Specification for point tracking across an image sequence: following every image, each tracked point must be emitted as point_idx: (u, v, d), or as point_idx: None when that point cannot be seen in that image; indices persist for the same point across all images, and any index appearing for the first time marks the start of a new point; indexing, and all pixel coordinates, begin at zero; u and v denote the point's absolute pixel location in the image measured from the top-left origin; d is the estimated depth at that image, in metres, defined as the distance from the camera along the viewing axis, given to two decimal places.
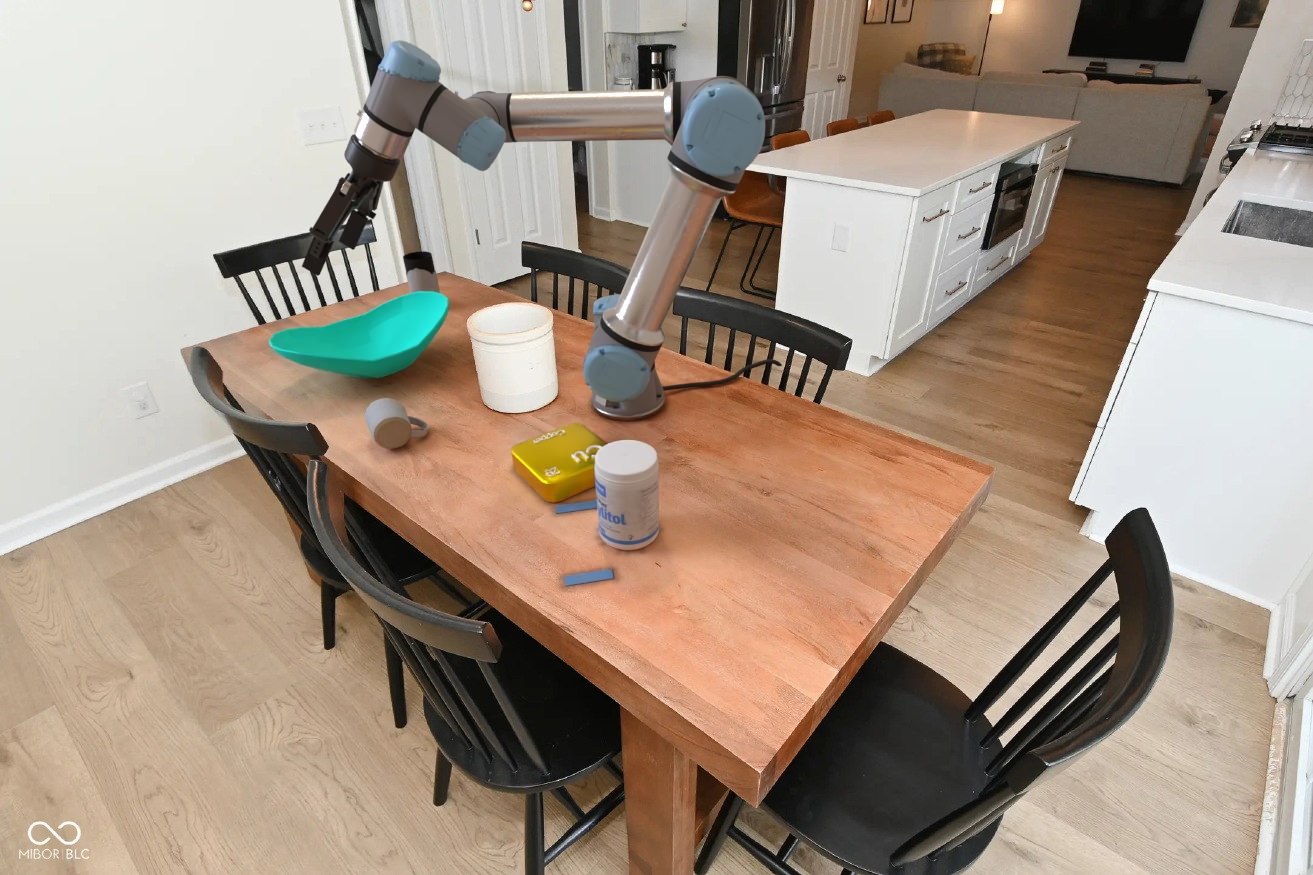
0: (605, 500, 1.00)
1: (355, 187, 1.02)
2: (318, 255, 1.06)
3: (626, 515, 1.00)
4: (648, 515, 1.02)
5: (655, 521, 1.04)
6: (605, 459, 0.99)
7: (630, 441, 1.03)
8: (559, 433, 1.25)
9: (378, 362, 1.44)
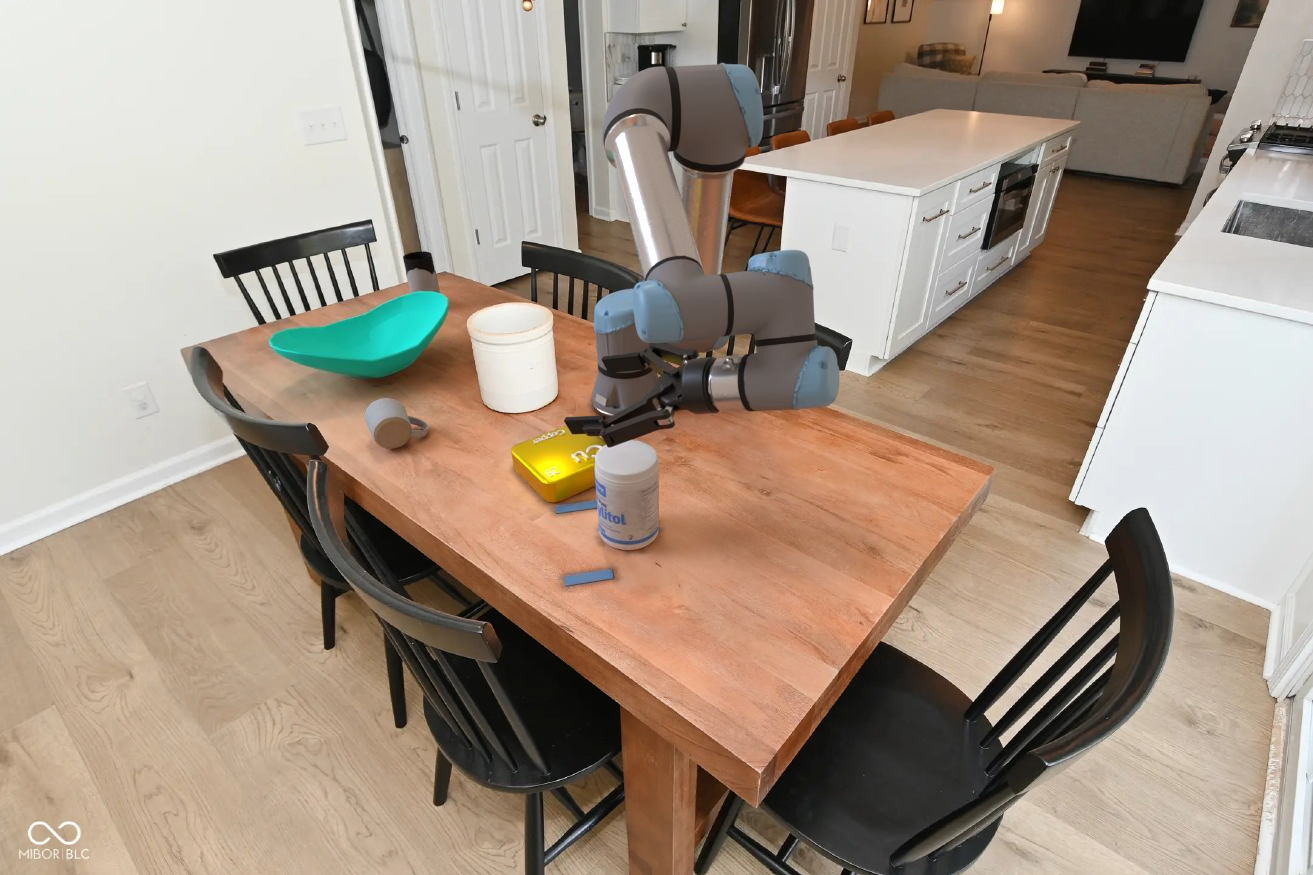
0: (606, 500, 1.00)
1: (673, 425, 0.90)
2: (589, 435, 0.94)
3: (626, 515, 1.00)
4: (648, 515, 1.02)
5: (655, 521, 1.04)
6: (605, 459, 0.99)
7: (630, 441, 1.03)
8: (559, 433, 1.25)
9: (378, 362, 1.44)
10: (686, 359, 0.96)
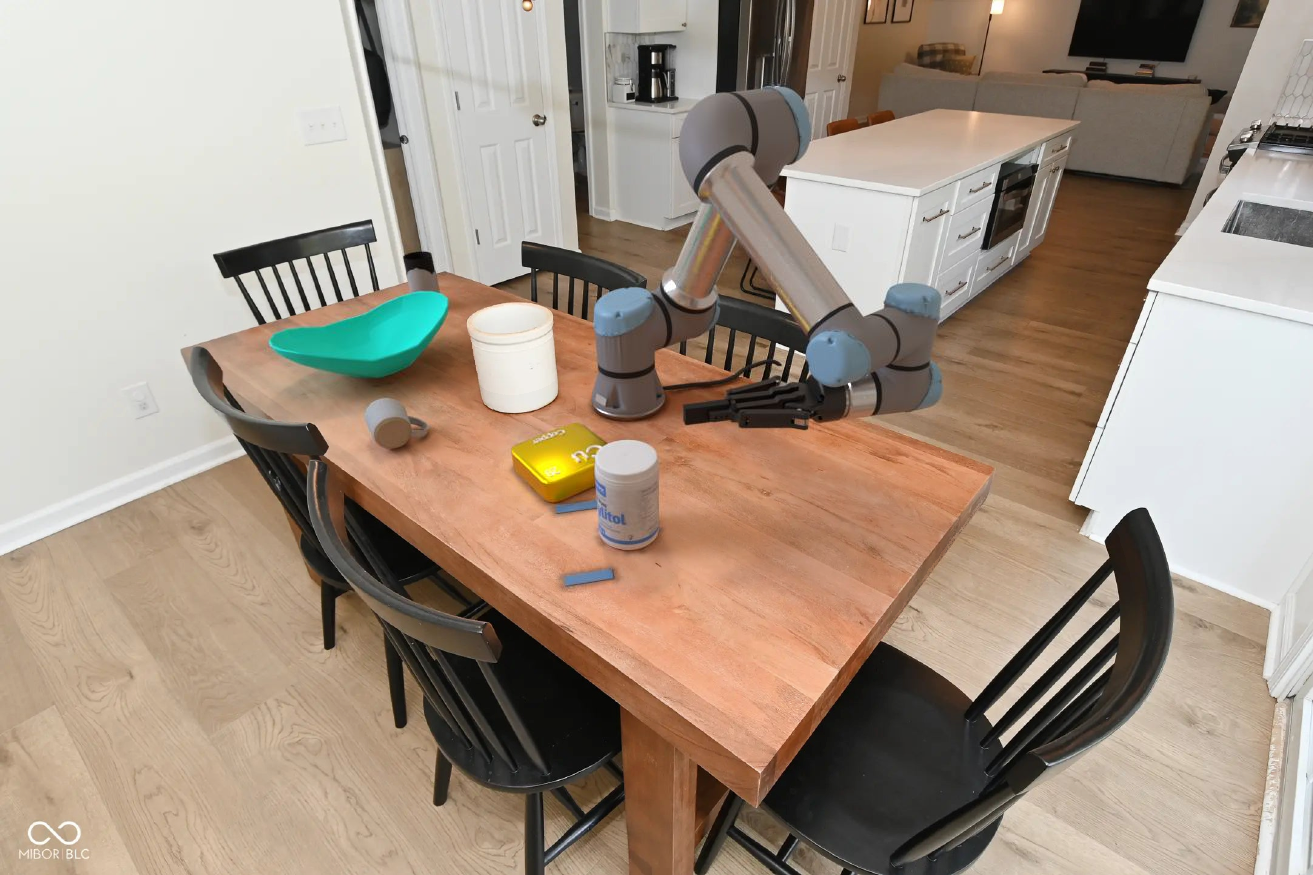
0: (606, 500, 1.00)
1: (806, 428, 0.96)
2: (714, 421, 0.98)
3: (626, 515, 1.00)
4: (648, 515, 1.02)
5: (655, 521, 1.04)
6: (605, 459, 0.99)
7: (630, 441, 1.03)
8: (559, 433, 1.25)
9: (378, 362, 1.44)
10: (779, 383, 1.04)
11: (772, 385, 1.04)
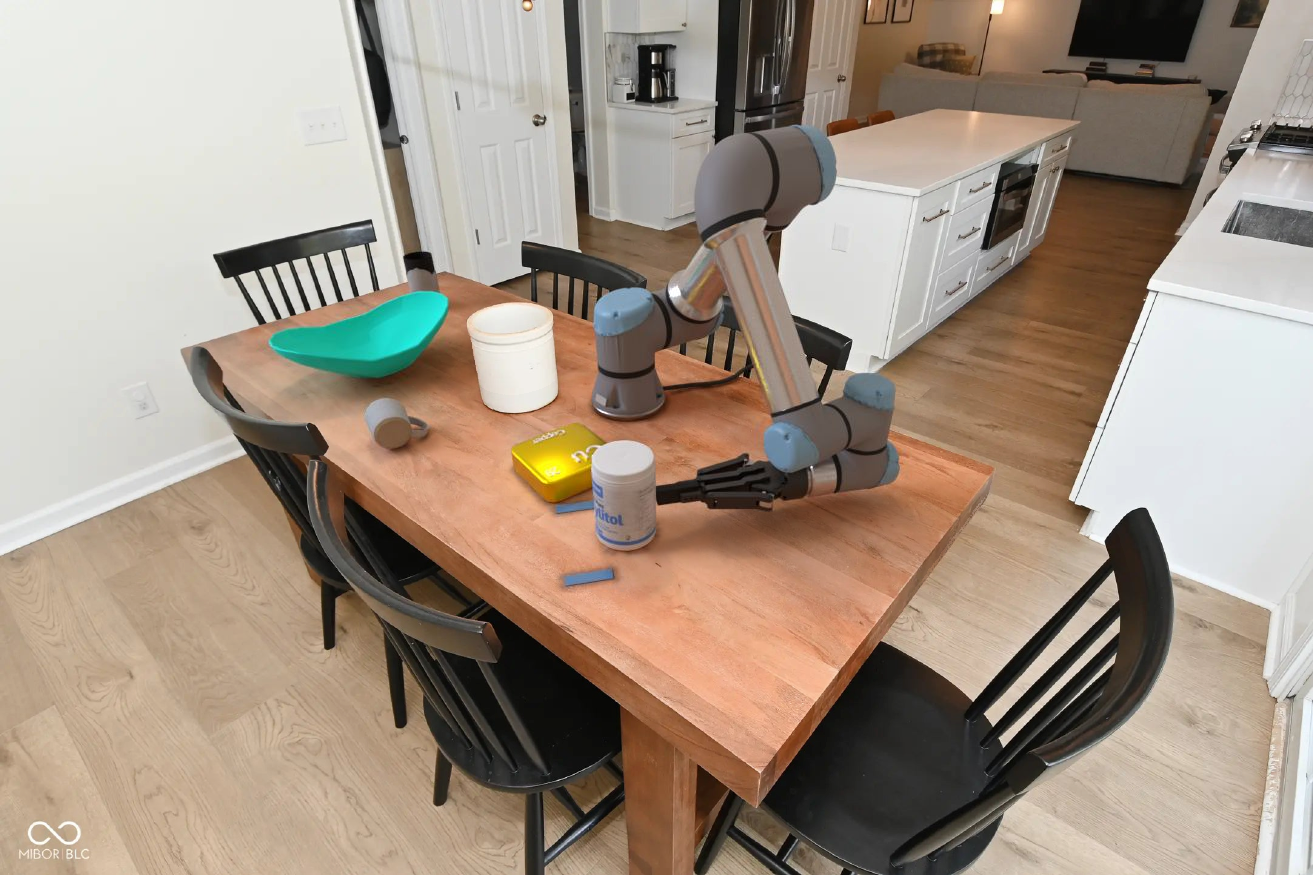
0: (603, 501, 1.00)
1: (770, 510, 1.03)
2: (684, 502, 1.04)
3: (623, 516, 1.00)
4: (646, 516, 1.01)
5: (652, 521, 1.04)
6: (602, 460, 0.99)
7: (627, 441, 1.03)
8: (559, 433, 1.25)
9: (378, 362, 1.44)
10: (747, 462, 1.11)
11: (740, 463, 1.10)
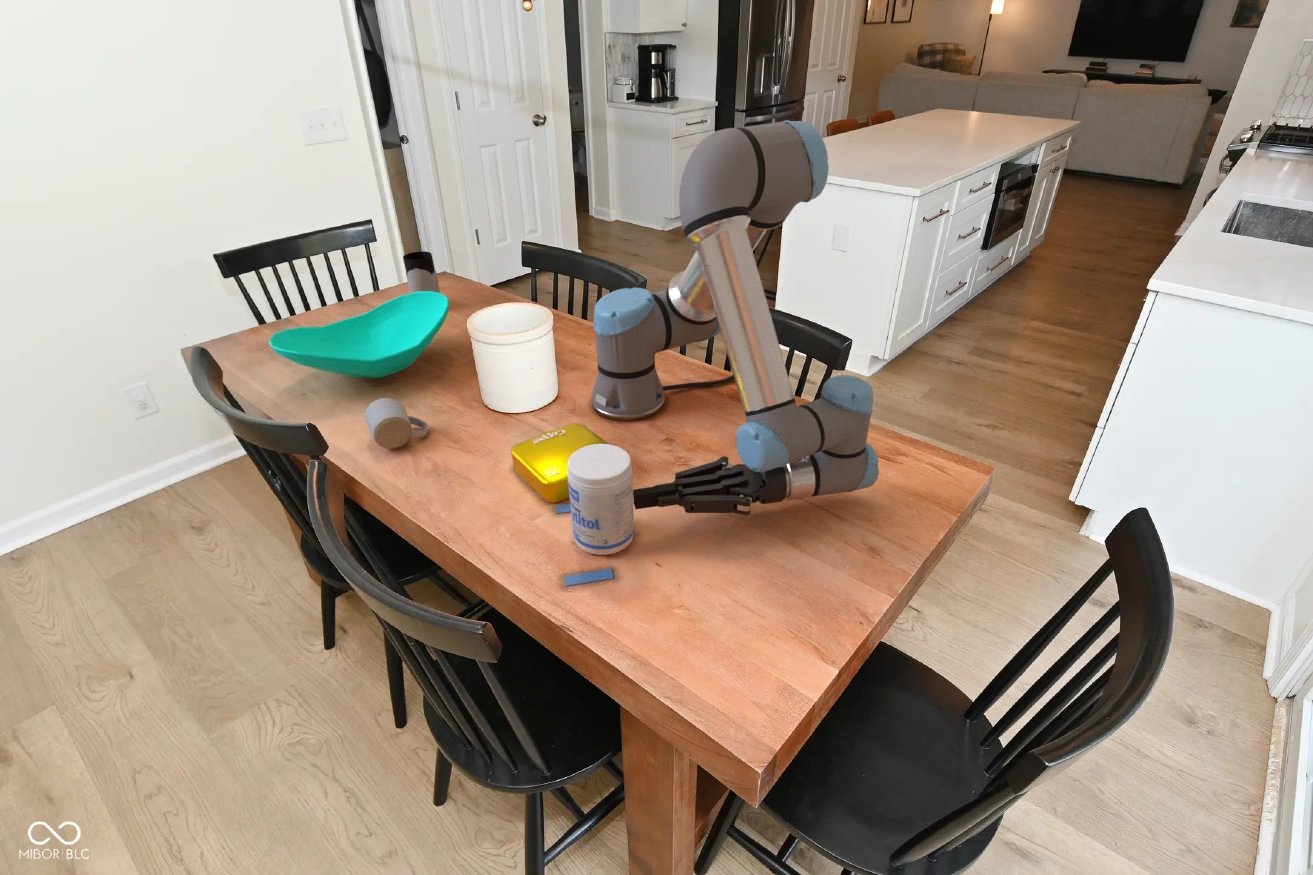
0: (579, 505, 0.99)
1: (748, 514, 1.02)
2: (662, 506, 1.04)
3: (600, 520, 0.99)
4: (623, 519, 1.01)
5: (630, 524, 1.03)
6: (578, 464, 0.98)
7: (603, 445, 1.02)
8: (559, 433, 1.25)
9: (378, 362, 1.44)
10: (726, 465, 1.10)
11: (719, 467, 1.10)
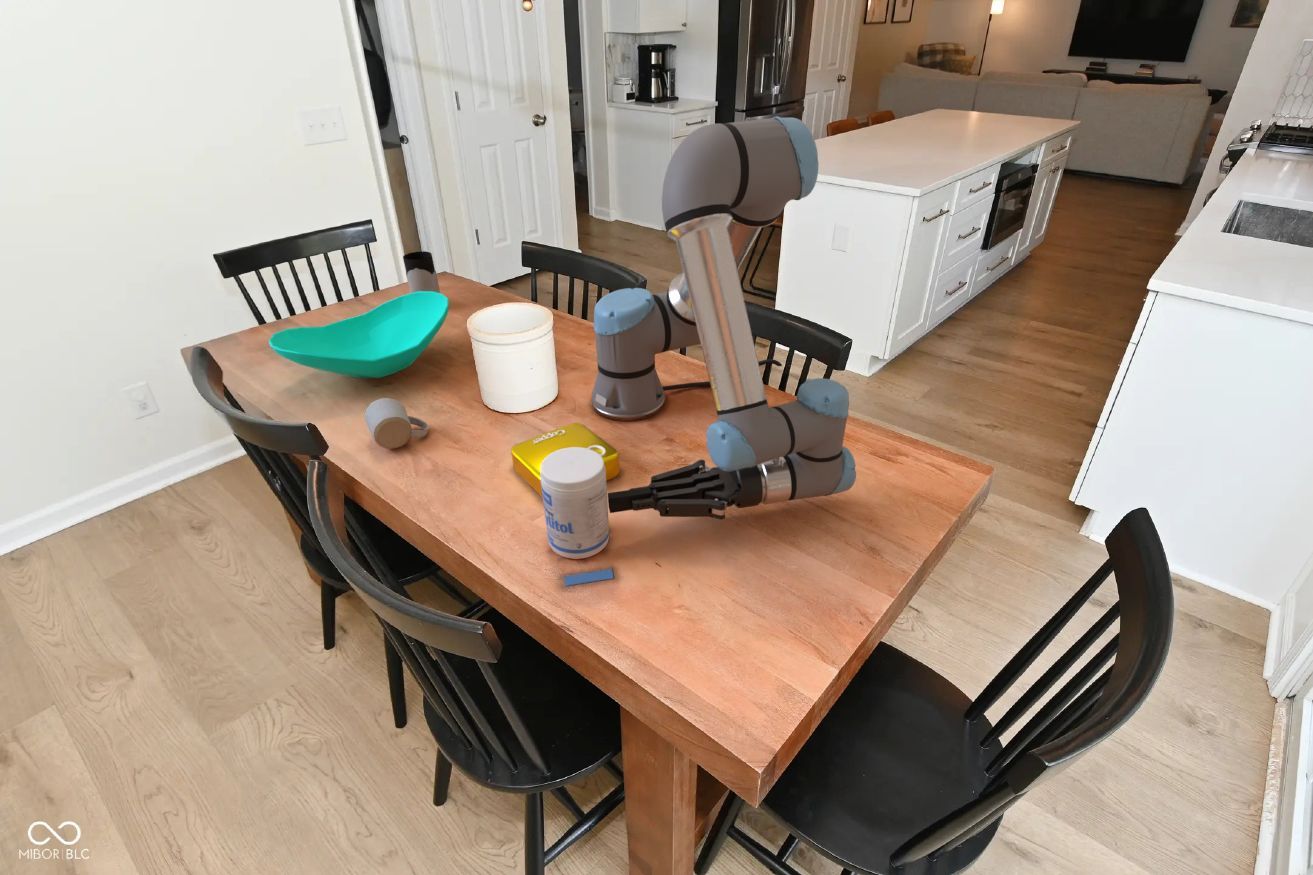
0: (552, 509, 0.98)
1: (723, 517, 1.02)
2: (636, 509, 1.03)
3: (573, 524, 0.99)
4: (596, 523, 1.00)
5: (604, 528, 1.03)
6: (550, 467, 0.98)
7: (577, 448, 1.02)
8: (559, 433, 1.25)
9: (378, 362, 1.44)
10: (702, 468, 1.09)
11: (696, 470, 1.09)
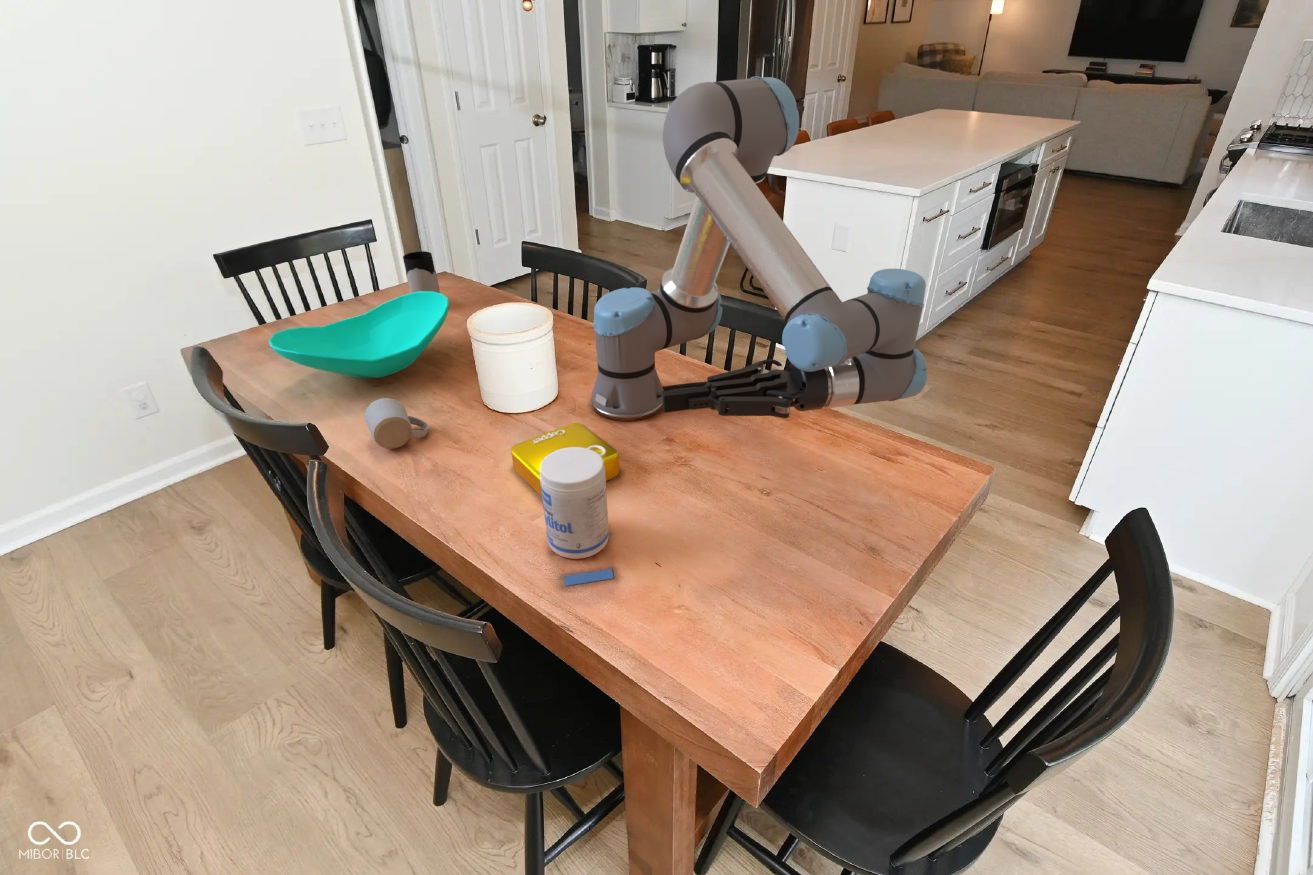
0: (551, 509, 0.98)
1: (787, 416, 0.94)
2: (693, 408, 0.96)
3: (573, 524, 0.99)
4: (596, 523, 1.00)
5: (604, 528, 1.03)
6: (550, 467, 0.98)
7: (577, 448, 1.02)
8: (559, 433, 1.25)
9: (378, 362, 1.44)
10: (761, 371, 1.02)
11: (754, 372, 1.02)
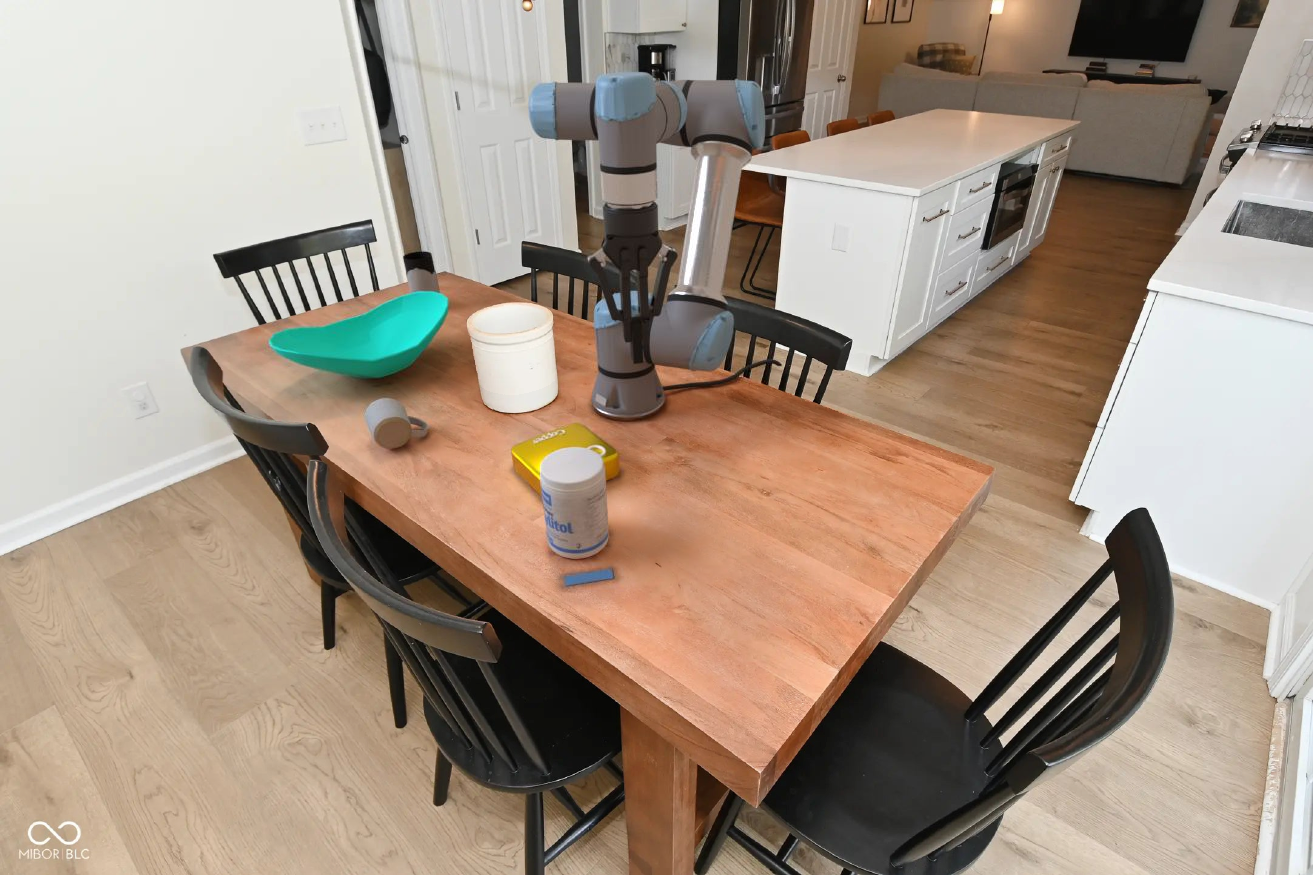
0: (551, 509, 0.98)
1: (589, 261, 0.94)
2: (624, 338, 1.02)
3: (573, 524, 0.99)
4: (596, 523, 1.00)
5: (604, 528, 1.03)
6: (550, 467, 0.98)
7: (577, 448, 1.02)
8: (559, 433, 1.25)
9: (378, 362, 1.44)
10: None
11: (661, 261, 0.98)
